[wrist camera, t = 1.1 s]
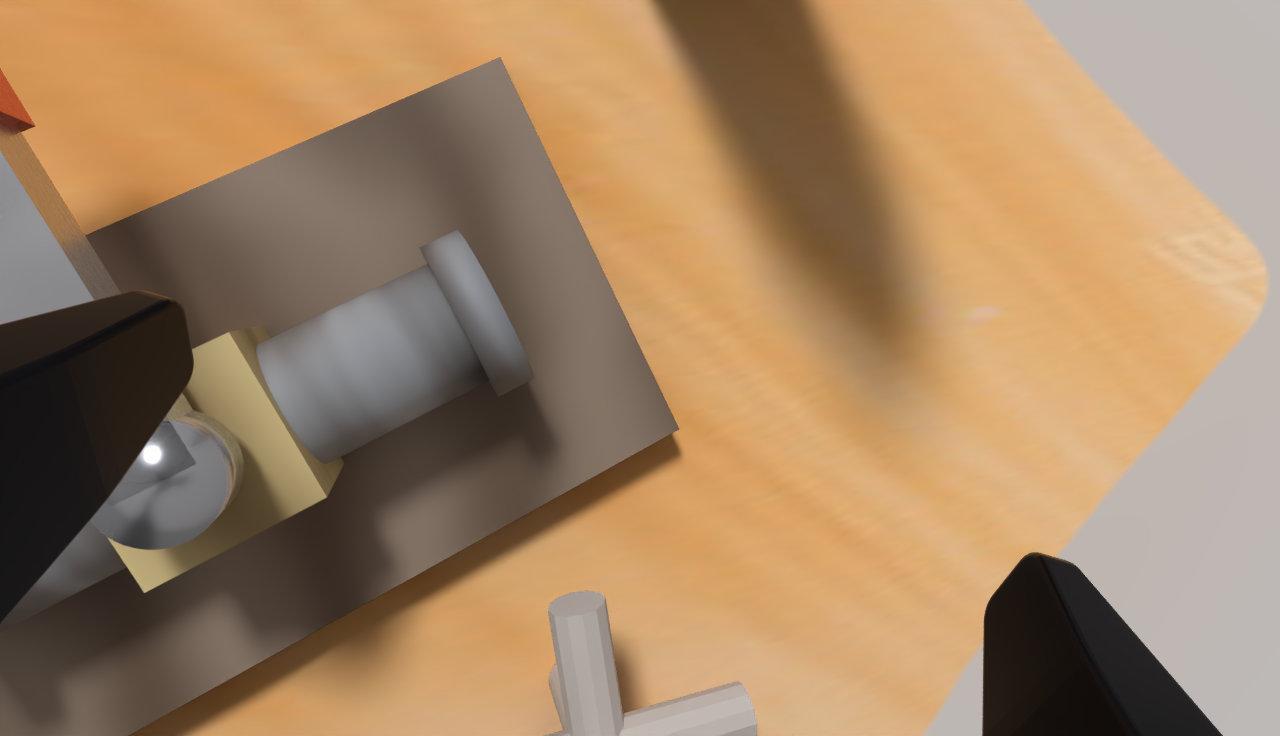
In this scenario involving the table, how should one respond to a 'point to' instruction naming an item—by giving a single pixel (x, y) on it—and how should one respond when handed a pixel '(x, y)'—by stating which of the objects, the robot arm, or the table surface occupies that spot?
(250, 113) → the table surface
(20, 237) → the lever
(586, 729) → the pipe connector
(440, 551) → the valve mount
